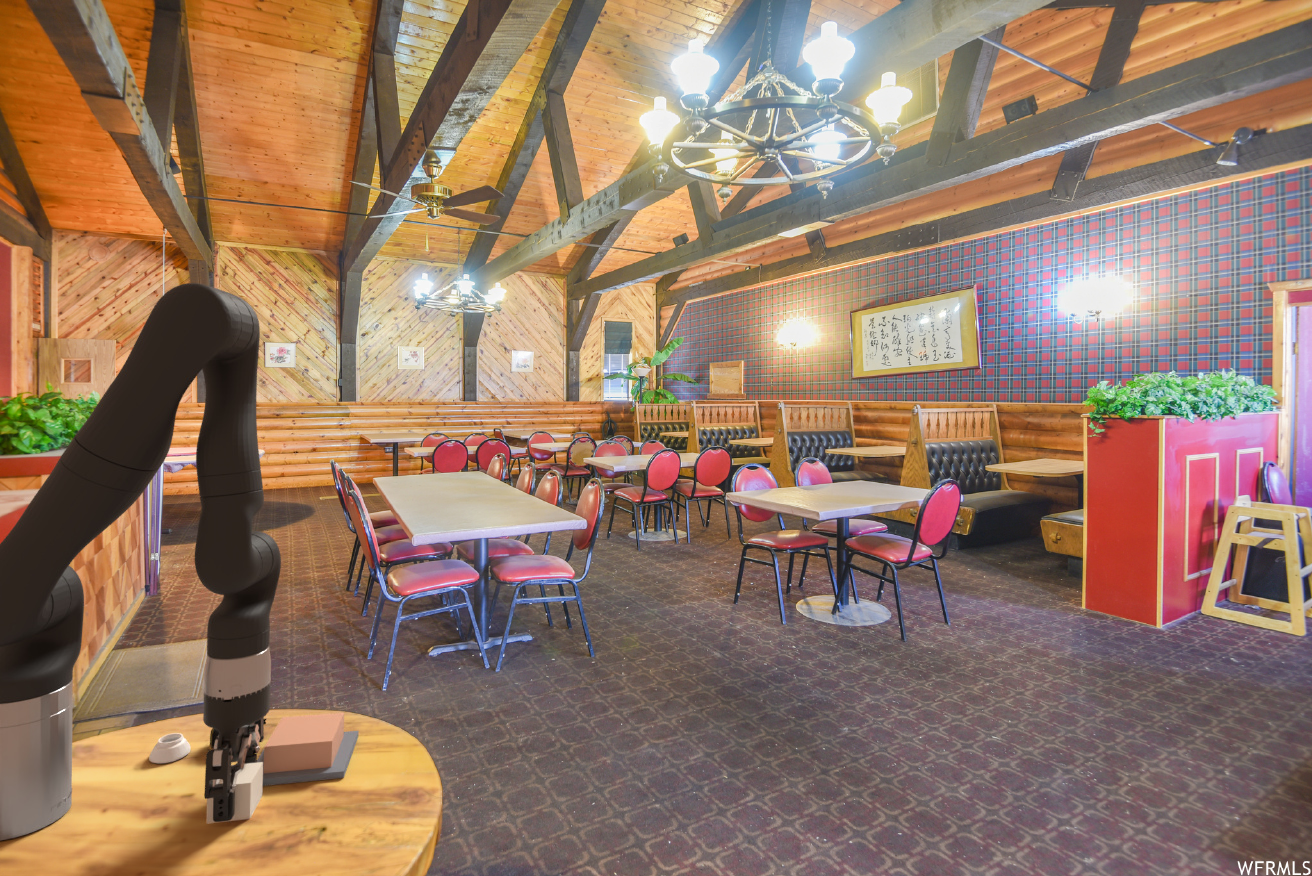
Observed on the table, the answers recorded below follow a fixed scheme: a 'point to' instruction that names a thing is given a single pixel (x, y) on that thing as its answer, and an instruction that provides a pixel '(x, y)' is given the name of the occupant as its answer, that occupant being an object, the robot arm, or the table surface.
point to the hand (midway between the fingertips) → (235, 799)
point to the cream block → (244, 792)
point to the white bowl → (169, 748)
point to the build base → (307, 749)
